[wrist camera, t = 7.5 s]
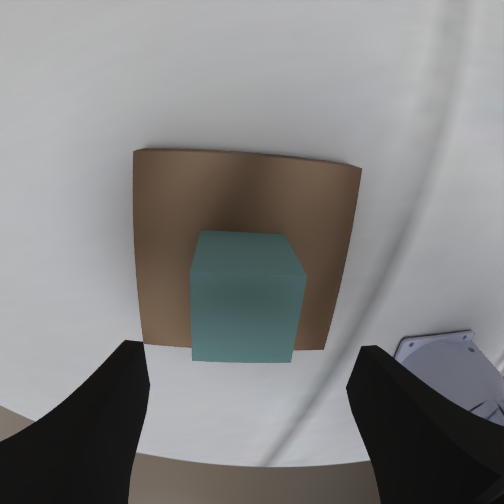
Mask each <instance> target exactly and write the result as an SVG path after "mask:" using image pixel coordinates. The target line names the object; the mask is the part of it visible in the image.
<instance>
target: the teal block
mask: <svg viewBox="0 0 504 504" xmlns="http://www.w3.org/2000/svg"><path fill="white" fill-rule="evenodd" d="M306 279H307V275H306V273H305V271H304V269H303V267H302V266H301V264H300V262H299V260H298V258H297V256H296V254H295V252H294V250H293V248H292V246H291V245H290V243H289V241H288V239H287V237H286V235H284V234H267V233H248V232H229V231H208V230H201V231H200V234H199V238H198V242H197V246H196V250H195V254H194V258H193V262H192V266H191V270H190V300H191V340H192V361H210V362H241V363H285V362H291V358H292V353H293V348H294V343H295V338H296V333H297V328H298V323H299V318H300V313H301V307H302V302H303V296H304V291H305V285H306Z"/></svg>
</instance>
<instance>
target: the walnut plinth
mask: <svg viewBox="0 0 504 504" xmlns="http://www.w3.org/2000/svg"><path fill="white" fill-rule="evenodd" d="M361 172H362V168H359V167H356V166H353V165H349V164H344V163H337V162H330V161H323V160H315V159H307V158H299V157H290V156H281V155H271V154H260V153H247V152H234V151H217V150H195V149H140V150H135V151H133V225H134V248H135V264H136V277H137V289H138V300H139V309H140V318H141V326H142V334H143V342H144V344H151V345H162V346H175V347H189V348H192V340H191V300H190V270H191V266H192V262H193V258H194V254H195V250H196V246H197V242H198V238H199V234H200V231H201V230H208V231H229V232H248V233H267V234H284V235H286V237H287V239H288V241H289V243H290V245H291V246H292V248H293V250H294V252H295V254H296V256H297V258H298V260H299V262H300V264H301V266H302V267H303V269H304V271H305V273H306V275H307V279H306V285H305V291H304V296H303V302H302V307H301V313H300V318H299V323H298V328H297V333H296V338H295V343H294V348H293V350H324V347H325V343H326V340H327V336H328V332H329V329H330V325H331V321H332V317H333V313H334V309H335V305H336V301H337V297H338V293H339V288H340V284H341V280H342V275H343V271H344V266H345V262H346V257H347V252H348V247H349V242H350V237H351V232H352V227H353V221H354V216H355V210H356V204H357V198H358V192H359V186H360V179H361Z"/></svg>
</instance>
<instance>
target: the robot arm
mask: <svg viewBox="0 0 504 504" xmlns="http://www.w3.org/2000/svg"><path fill="white" fill-rule="evenodd" d="M473 336H474V332H473V331H464V332H457V333H450V334H442V335H433V336H424V337H414V338H406V339H404V340H403V341H402V342H401V344H400V346H399V349H398V351H397V353H396V356H395V358H393V357H392V356H390V355H389V354H388V353H387V352H385V351H384V350H383V349H381V348H380V347H378V346H377V345H372V346H361V349H360V352H359V354H358V357H357V360H356V363H355V365H354V368H353V371H352V373H351V376H350V378H349V381H348V383H347V386H346V390H347V394H348V399H349V403H350V407H351V411H352V414H353V416H354V419H355V421H356V424H357V427H358V429H359V432H360V434H361V437H362V439H363V442H364V444H365V447H366V449H367V452H368V455H369V457H370V460H371V463H372V466H373V469H374V472H375V477H376V481H377V486H378V490H379V496H380V501H381V504H504V380H503V377H502V375H501V374H500V372H499V371H498V370H497V369H496V368H495V367H494V365H493V364H492V363H491V362H490V361H489V360H488V359H487V358H486V356H485V355H484V354H483V353H482V352H481V351H480V350H479V349H478V348H477V346H476V345H475V344H474V343H473V342H472V338H473ZM410 343H411V344H410ZM149 391H150V382H149V376H148V370H147V364H146V358H145V351H144V344H143V342H140V341H130V340H125V341H124V342H122V343H121V344H120V346H119V347H118V348H117V349H116V350H115V351H114V352H113V353H112V354H111V355H110V356H109V357H108V358H107V359H106V360H105V362H104V363H103V364H102V365H101V366H100V367H99V368H98V369H97V370H96V371H95V372H94V373H93V374H92V375H91V376H90V377H89V378H88V379H87V380H86V381H85V382H84V383H83V384H82V385H81V386H80V387H78V388H77V389H76V390H75V391H74V392H73V393H72V394H71V395H70V396H69V397H67V398H66V399H65V400H64V401H63V402H62V403H60V404H59V405H58V406H57V407H55V408H54V409H53V410H52V411H50V412H49V413H48V414H46V415H45V416H43V417H42V418H41V419H39V420H38V421H36V422H34V423H33V424H31V425H30V426H28V427H26V428H25V429H23V430H22V431H20V432H18V433H17V434H15V435H13V436H11V437H9V438H7V439H5V440H3V441H1V442H0V504H128V496H129V486H130V476H131V471H132V466H133V461H134V458H135V454H136V450H137V446H138V442H139V438H140V434H141V431H142V427H143V423H144V419H145V415H146V411H147V405H148V398H149Z"/></svg>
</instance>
